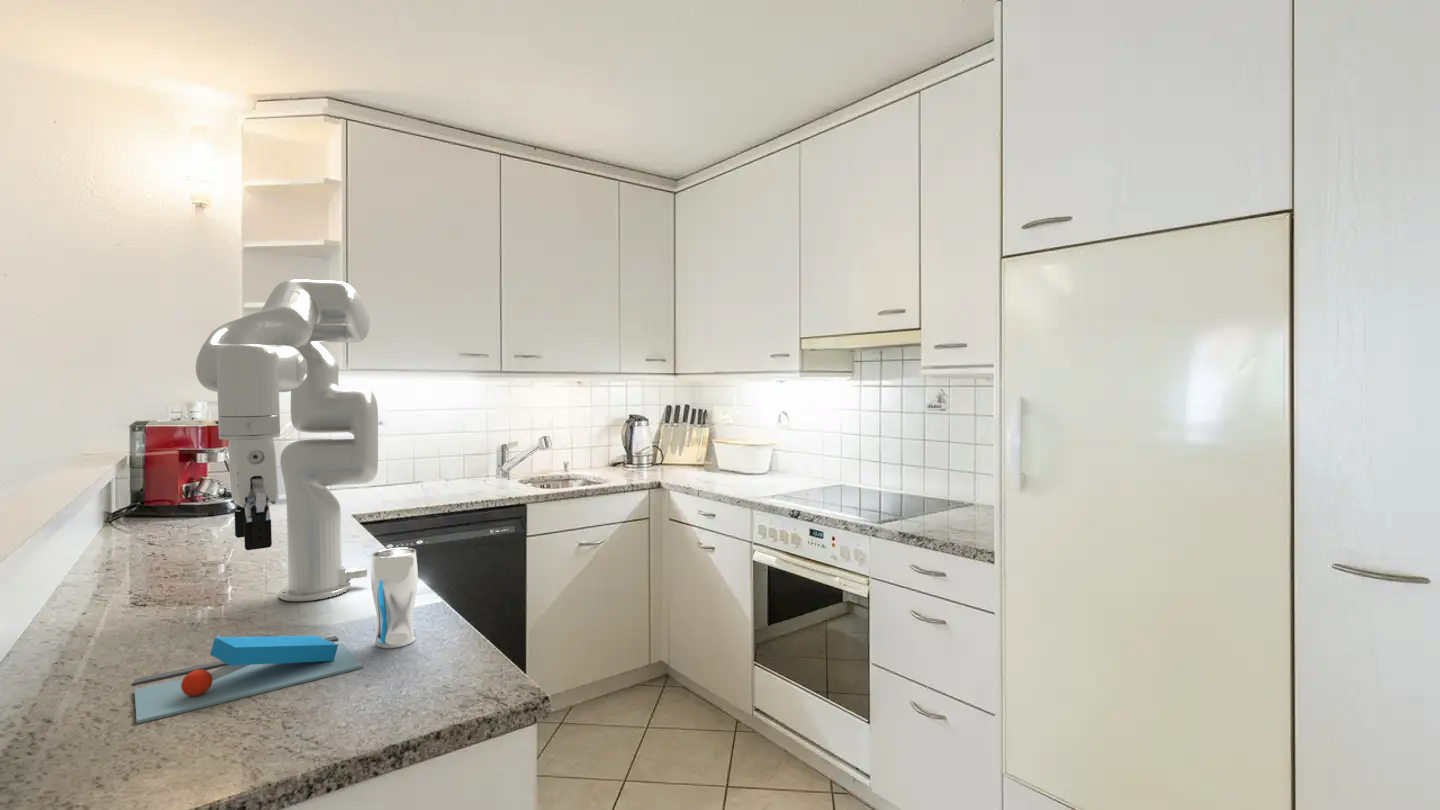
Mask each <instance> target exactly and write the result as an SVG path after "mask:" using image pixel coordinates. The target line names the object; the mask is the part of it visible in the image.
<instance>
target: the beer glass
mask: <svg viewBox="0 0 1440 810" xmlns="http://www.w3.org/2000/svg"><path fill="white" fill-rule="evenodd" d="M417 560H418V559H417V549H415V548H412V547H393V548H387V549H382V550H378V551H375V552H373V553H372V559H371V574H370V575H371V576H370V577H371V579H370V580H371V581H370V582H371V590H372V591H371V594H372V597H373V598H372V599H373V603H374V608H375V613H376V618H377V630H376V636H375V641H374V643H375V646H376V648H377V647H378V648H380V649H397V648H401V647H406V646H408V645H411V644H412V643H414V642H415V641H416V637H417V636H416V631H415V628H414V608H415V603H416V598H417V597H416V596H417V592H418V591H417V590H418V582H419V579H418V578H419V573H418V561H417Z"/></svg>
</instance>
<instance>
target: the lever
mask: <svg viewBox="0 0 1440 810" xmlns="http://www.w3.org/2000/svg"><path fill="white" fill-rule="evenodd" d="M338 644H339V643H335V642H334V641H332V642H330V641H328V640H326V639H324V638H322V637H320V636H317V635H279V636H277V635H276V636H275V635H273V636H271V635H270V636H265V635H264V636H219V637H218V636H215V637H214V639H213V643H212V647H211V651H210V656H211V657H214V658H216V659H217V660H218V661H223V662H225V663H226V664H227V665H223V666H221V667H220V668H217V669H215V670H212V671H211V672H209V671H208V670H207V669H205V670H195V671H192V672H190V673H187V674H186V675H185V676H184V677H183V678H182V679H183V681H182V684H181V688H182V691H183V692H184V693H185V694H186V695H188V696H192V697H193V696H199V695H202V694H203V693H205V692H206V691H208V690H209V688H210V687H211V685H212V681H214V680H216V679H218V678H221V677H223V676H225V675H227V674H230V673H232V672H234V671H237V670H239V669H241V668H244V667H246V666H248V665H254V664H276V663H298V662H320V661H334V659H335V655H336V651H337V647H338Z"/></svg>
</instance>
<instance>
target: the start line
mask: <svg viewBox="0 0 1440 810" xmlns="http://www.w3.org/2000/svg"><path fill="white" fill-rule="evenodd" d="M323 639H326V640H328V641H332V642H336V641H335V640H337V641H339V637H338V636H337V635H334V636H329V637H325V638H323ZM227 665H228V664H226V663H225V662H223V661H221V660H217V661H213V662H209V663H204V664H199V665H194V666H189V667H184V668H180V669H179V668H178V669H176V670H171V671H167V672H162V673H157V674H156V673H155V674H152V675H148V676H147V675H146V676H143V677H142V676H141V677H138V678H134V679H133V686H136V685H141V684H145V683H149V682H153V681H158V680H162V679H167V678H168V679H169V678H171V677H173V678H174V677H177V676H180V675H185V674H186V675H187V674H189V673H190V672H192V671H195V670H208V669H214V668H219V667H224V666H227Z"/></svg>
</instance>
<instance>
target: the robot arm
mask: <svg viewBox="0 0 1440 810" xmlns="http://www.w3.org/2000/svg"><path fill="white" fill-rule="evenodd" d="M369 331H370V317H369V313H368V310H367V308H366V306H365V304H364V302H363V300H362V298H361V296H360V295H359V293H358V292H357V290H356V289H355V288H354V287H353V286H352V285H350V284H349V283H346V282H344V281H339V280H337V281H336V280H316V279H315V280H314V279H289V280H284V281H282V282H279V283H278V284H277V285H276V286H275V287H274V288H273V290H272V291H271V293H270V295H269V296H268V298H267V300H266V301H265V303H264V305H263V307H262V308H261V309H260V311H257V312H254V313H250V314H248V315H245V316H242V317H240V318H238V319H234V320H231V321H229V322H226V323H224V324H222V325H220V326H218V327H217V328H216V329H214V330H212V332H211V333H210V334H209V336H208V337H207V338H206V340H205V341H204V343H203V344H202V345H201V347H200V350H199V352H198V355H197V357H196V362H195V374H196V377H197V379H198V382H199V383H200V385H201V386H203V388H205V389H207V390H208V391H211V392H216V393H217V415H218V417H217V418H218V420H217V421H218V440H224V441H227V440H228V466H229V484H230V493H231V497H232V500H233V501H234V503H235V504H234V505H235V506H234V507H235V511H234V536H235V537H236V538H238V539H239V538H244V540H243V541H244V549H245V550H246V551H254V550H260V549H267V548H268V549H269V548H271V547H272V546H273V543H272V542H273V540H272V539H273V536H272V535H273V534H272V519H271V513H270V507H269V506H270V505H269V503H271V504H272V505H276V504H278V502H279V501H280V500H279V497H280V496H279V486H278V485H279V482H278V472H277V471H278V468H277V457H276V456H277V455H276V447H275V442H274V441H275V440H274V438H280V437H281V424H280V423H281V421H280V420H281V419H280V417H281V416H280V414H281V413H280V411H281V410H280V393H288V392H290V420H291V421H290V422H291V424H292V426H293V428H294V429H296V430H297V431H299V432H302V433H310V434H327V433H328V434H331V433H332V434H336V433H337V434H338V433H341V434H342V433H349V434H352V435H353V438H334V439H333V438H322V439H321V438H319V439H318V438H316V439H313V438H312V439H302V440H296V441H293V442H290V443H289V444H288V445H286V446H285V447H284V448H283V449H282V452H281V454H280V469H281V473H282V479H283V485H284V489H285V500H286V528H287V529H286V530H287V531H286V535H287V536H286V537H287V539H286V540H287V586H285V587H283V588H281V589H280V591H279V592H278V593H279V594H278V596H279V599H281V600H283V601H287V602H310V601H311V602H312V601H318V599H319V600H324V599H329V598H333V597H336V595H337V596H340V595H341V593H342V594H344V593H343V592H345V593H346V592H348V591H349V590H350V589H351V582H350V581H351V580H352V579H360V578H366V577H368V568H367V567H362V568H358V567H353V568H345V567H344V566H343V565H342V516H341V515H342V514H341V511H342V510H341V506H340V502H339V500H338V499H337V498H336V496H335V495H334V494H333V493H332V492H331V491H330V490H329V489H328V487H330V486H346V485H361V484H363V485H364V484H368V483H371V482H372V481H374V479H375V478H376V476H377V474H378V470H379V469H378V467H379V410H378V409H379V407H378V402H377V398H376V396H375V393H373V391H371V390H370V389H368V388H365V387H359V386H358V387H355V386H353V387H350V386H347V387H345V386H343V387H341V386H339V363H338V361H337V360H336V359H335V357H334V356H333V355H332V354H331V352H330V351H329V350H328V349H327V348H326V347H325V346H323V344H321V343H349V344H350V343H359V342H362V341H364V340H365V339H366V338H367V336H368V335H369V334H368V333H369ZM347 590H348V591H347ZM339 594H340V595H339ZM332 596H333V597H332ZM328 597H329V598H328Z"/></svg>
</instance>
